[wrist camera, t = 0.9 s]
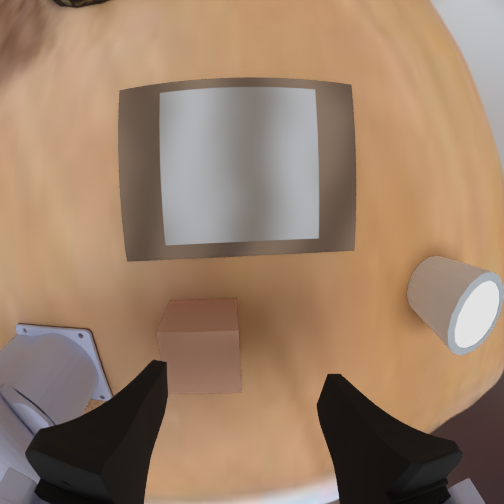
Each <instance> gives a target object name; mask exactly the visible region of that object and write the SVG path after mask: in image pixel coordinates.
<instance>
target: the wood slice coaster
mask: <svg viewBox="0 0 504 504" xmlns="http://www.w3.org/2000/svg"><path fill="white" fill-rule="evenodd" d="M53 1H54V2H56V3H57V4H58V5H60V6H65V7H74V8H79V7H84V6H90V5H96V4H101V3H104V2H107V1H109V0H53Z"/></svg>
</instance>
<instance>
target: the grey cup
mask: <svg viewBox="0 0 504 504" xmlns="http://www.w3.org/2000/svg"><path fill="white" fill-rule="evenodd" d="M503 297H504V289H503V283H502V281H501V278H500V276H499V275H497V274H495V273H494V272H492V271H489V270H486V269H482V268H479V267H476V266H472V265H469V264H465V263H462V262H459V261H455V260H452V259H448V258H445V257H441V256H432V257H428V258H427V259H425V260H424V261H422V262H421V263H420V264H419V265H418V267H417V268H416V269H415V270H414V272H413V274H412V276H411V278H410V281H409V283H408V290H407V298H408V303H409V306H410V307H411V308H412V309H413V310H414V311H415V312H416V313H417V315H418V316H419V317H420V318H421V319H422V320H423V321H424V322H425V323H426V324H427V325H428V326H429V327H430V328H431V329H432V330H433V331H434V333H435V334H436V335H437V336H438V337H439V338H440V339H441V340H442V341H443V342H444V343H445V345H446V346H447V347H448V348H449V349H450V350H451V351H452V352H453V354H458V355H464V354H467V353H469V352H471V351H473V350H475V349H476V348H477V347H478V346H479V345H480V344H482V343H483V342H484V341H485V339H486V338H487V336H488V335H489V334H490V332H491V331H492V330H493V328H494V326H495V324H496V322H497V319H498V317H499V315H500V312H501V308H502V304H503Z"/></svg>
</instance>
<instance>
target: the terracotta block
mask: <svg viewBox="0 0 504 504" xmlns="http://www.w3.org/2000/svg"><path fill="white" fill-rule="evenodd" d="M156 336H157V341H158V346H159V351H160V355H161V360H162V361H163V362H167V383H168V389H169V393H170V394H222V393H242V379H241V363H240V346H239V329H238V315H237V300H236V298H222V299H197V300H170V302H169V304H168V306H167V308H166V310H165V313H164V315H163V317H162V319H161V322H160V324H159V326H158V328H157V331H156Z"/></svg>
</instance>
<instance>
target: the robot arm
mask: <svg viewBox="0 0 504 504" xmlns="http://www.w3.org/2000/svg"><path fill="white" fill-rule="evenodd" d="M15 329H16V332H17V335H16V336H15V337H14V338H13V339H12V340H11V341H10V342H9V343H8V344H7V345H6V346H4V347H3V348H2V349H1V350H0V504H144V496H145V488H146V482H147V475H148V469H149V464H150V458H151V454H152V451H153V448H154V444H155V441H156V438H157V435H158V432H159V429H160V426H161V423H162V420H163V417H164V414H165V408H166V403H167V398H168V383H167V362H163V361H157V360H153V361H151V362H150V363H149V364H148V365H147V367H146V368H145V369H144V370H143V371H142V372H141V373H140V374H139V375H138V376H137V377H136V378H135V379H134V380H132V381H131V382H130V383H129V384H128V385H127V386H126V387H125V388H124V389H122V390H121V391H120V392H119V393H117V394H116V395H115V396H114V397H113V396H112V394H111V391H110V388H109V386H108V383H107V380H106V378H105V375H104V372H103V369H102V366H101V363H100V360H99V357H98V354H97V351H96V347H95V344H94V341H93V337H92V334H91V332H90V331H89V330H87V329H74V328H60V327H48V326H37V325H27V324H17V325H16V326H15ZM80 333H81V334H82V335H83V336H81V335H80ZM90 399H95V400H103V401H107V402H105V403H104V404H102V405H101V406H99V407H97V408H96V409H94V410H92V411H90V412H88V413H86V414H84V415H83V413H84V411H85V409H86V407H87V405H88V403H89V401H90ZM317 411H318V416H319V422H320V425H321V428H322V431H323V434H324V437H325V440H326V443H327V446H328V449H329V452H330V455H331V458H332V461H333V465H334V469H335V474H336V479H337V486H338V492H339V500H340V504H485V503H484V501H483V500H482V498H481V496H480V495H479V493H478V491H477V490H476V488H475V487H474V485H473V484H472V482H471V480H470V479H466V480H464V481H462V482H460V483H458V484H456V485H454V486H452V487H451V488H449V489H448V490H447V488H446V486H445V485H447V484H448V481H447V479H446V477H447V476H448V474H449V473H450V472H451V471H452V470H453V469H454V468H455V467H456V465H457V464H458V463H459V462H460V460H461V458H462V455H463V453H462V451H461V450H460V449H459V447H458V446H457V444H456V443H455V442H454V441H452V440H447V439H443V438H439V437H435V436H432V435H429V434H427V433H424V432H421V431H419V430H416V429H414V428H412V427H410V426H408V425H406V424H404V423H402V422H400V421H399V420H397V419H395V418H394V417H392V416H391V415H389V414H387V413H386V412H385V411H383V410H382V409H381V408H379V407H378V406H376V405H375V404H374V403H373V402H371V401H370V400H369V399H368V398H367V397H365V396H364V395H363V394H362V393H361V392H360V391H359V390H357V389H356V388H355V387H354V386H353V385H352V384H351V383H350V382H349V381H348V380H346V379H345V378H344V377H343V376H342V375H341V374H328V375H327V378H326V380H325V383H324V386H323V389H322V392H321V394H320V397H319V400H318V403H317Z"/></svg>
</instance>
